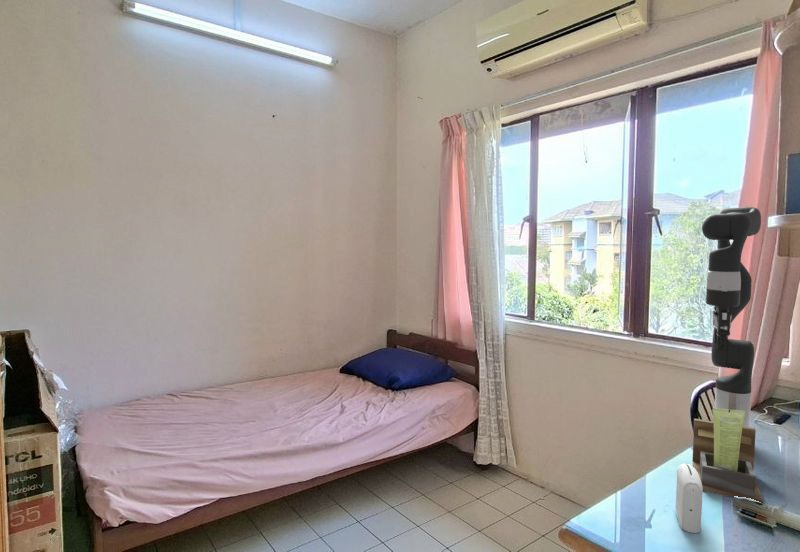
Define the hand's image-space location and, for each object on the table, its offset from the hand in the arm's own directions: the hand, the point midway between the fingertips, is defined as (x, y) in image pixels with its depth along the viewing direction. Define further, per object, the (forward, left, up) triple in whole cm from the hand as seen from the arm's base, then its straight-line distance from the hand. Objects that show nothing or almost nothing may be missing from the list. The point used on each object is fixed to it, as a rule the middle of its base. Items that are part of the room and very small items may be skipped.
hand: (720, 346), depth 124 cm
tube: (+7, +2, -35) cm, 35 cm away
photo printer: (+30, -7, -36) cm, 47 cm away
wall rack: (+4, +2, -36) cm, 36 cm away
